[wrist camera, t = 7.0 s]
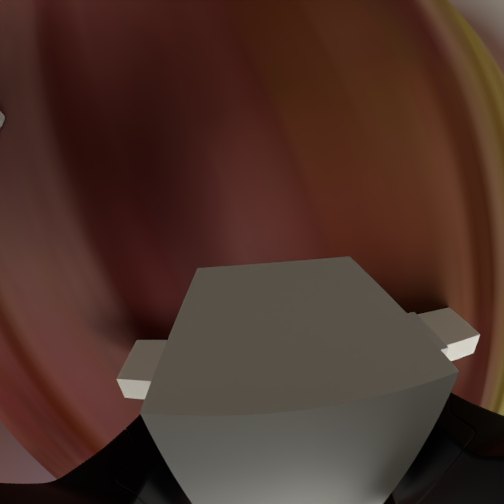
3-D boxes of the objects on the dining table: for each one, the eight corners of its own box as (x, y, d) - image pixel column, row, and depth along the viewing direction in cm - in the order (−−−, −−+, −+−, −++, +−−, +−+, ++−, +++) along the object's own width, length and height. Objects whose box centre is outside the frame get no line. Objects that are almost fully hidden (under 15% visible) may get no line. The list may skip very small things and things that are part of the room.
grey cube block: (336, 396, 10) (374, 513, 5) (222, 407, 10) (214, 533, 5) (349, 256, 9) (459, 370, 3) (197, 268, 9) (139, 412, 3)
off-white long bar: (444, 327, 18) (476, 359, 14) (143, 360, 18) (123, 406, 14) (449, 304, 17) (485, 334, 13) (135, 336, 17) (112, 380, 13)
